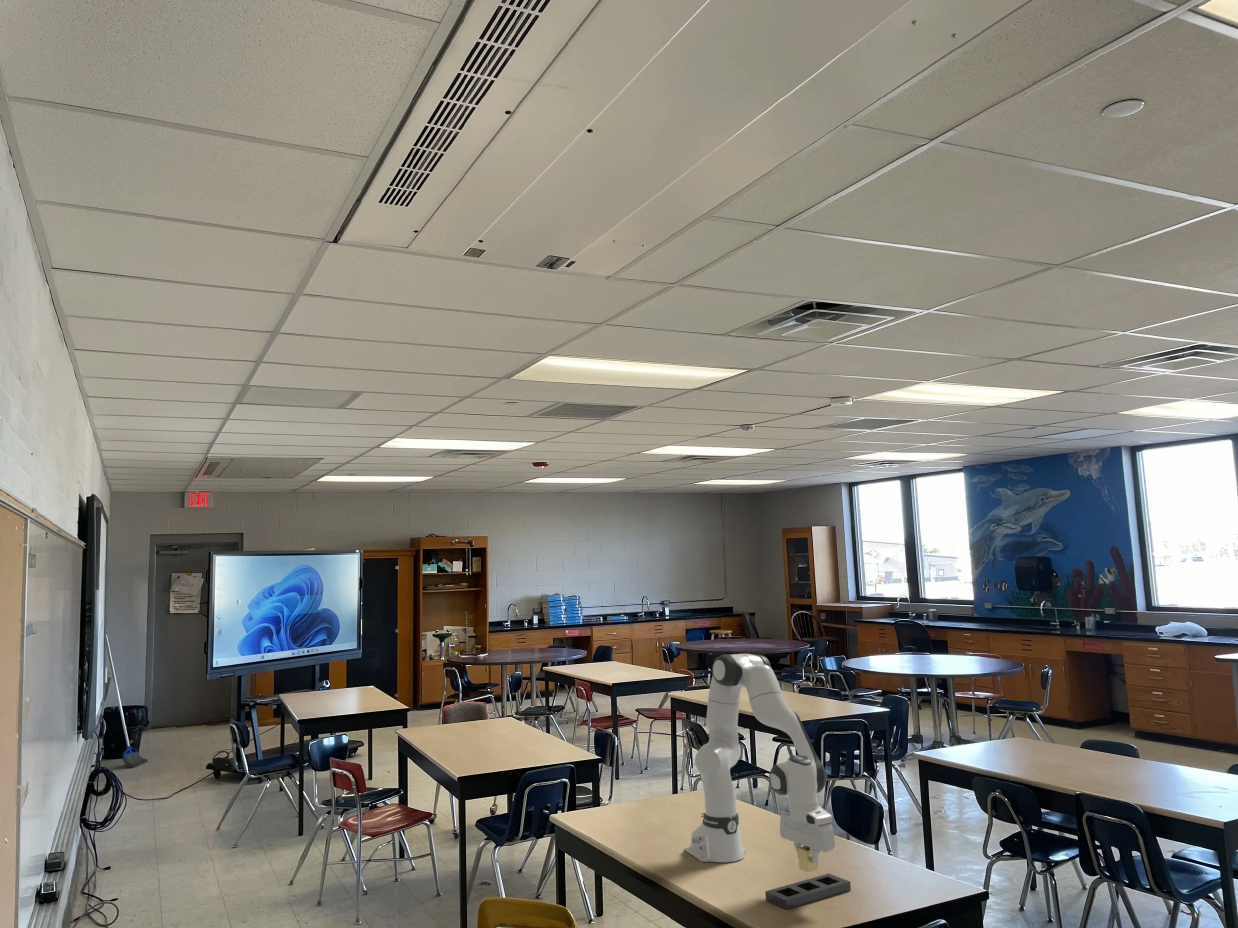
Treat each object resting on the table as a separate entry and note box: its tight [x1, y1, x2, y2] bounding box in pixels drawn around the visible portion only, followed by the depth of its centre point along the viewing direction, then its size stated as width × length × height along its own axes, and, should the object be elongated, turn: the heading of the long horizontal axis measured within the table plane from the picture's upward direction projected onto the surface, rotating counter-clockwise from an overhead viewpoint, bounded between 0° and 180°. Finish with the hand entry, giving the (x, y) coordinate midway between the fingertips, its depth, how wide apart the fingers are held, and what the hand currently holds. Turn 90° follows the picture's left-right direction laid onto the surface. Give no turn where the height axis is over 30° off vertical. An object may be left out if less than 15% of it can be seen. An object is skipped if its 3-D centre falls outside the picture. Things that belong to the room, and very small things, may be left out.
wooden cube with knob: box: [797, 845, 819, 873], centre depth 249 cm, size 4×4×6 cm
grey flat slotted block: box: [764, 873, 852, 911], centre depth 248 cm, size 9×26×2 cm, turn 121°
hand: (807, 860), depth 249 cm, fingers closed on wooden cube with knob, 4 cm apart
